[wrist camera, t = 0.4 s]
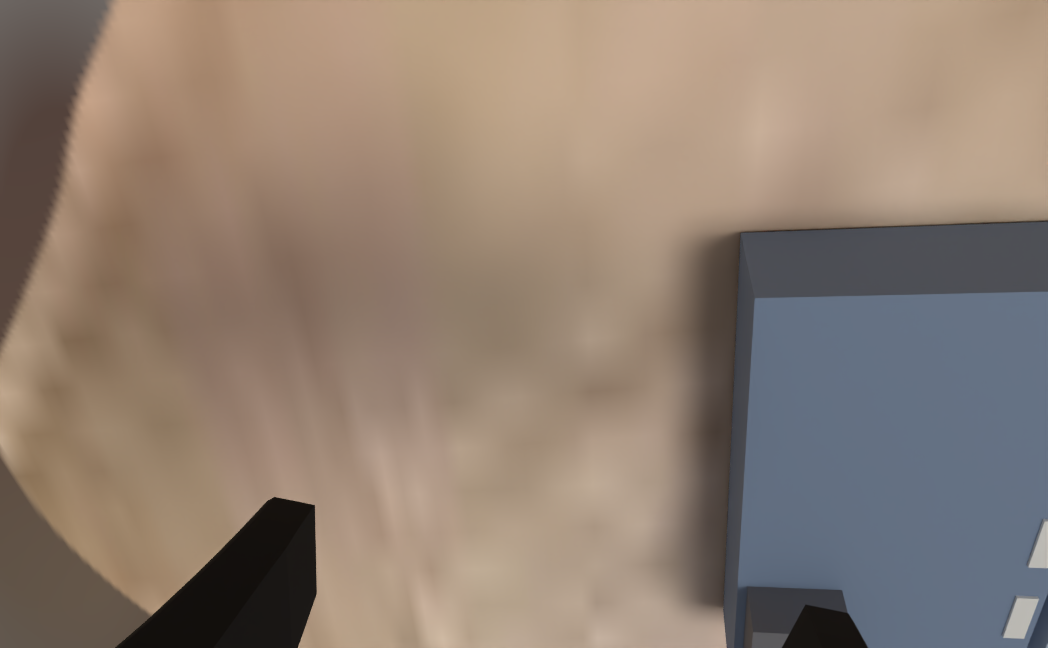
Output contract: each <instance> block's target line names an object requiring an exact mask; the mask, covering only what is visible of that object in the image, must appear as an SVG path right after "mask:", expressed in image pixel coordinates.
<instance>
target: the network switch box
mask: <svg viewBox="0 0 1048 648" xmlns="http://www.w3.org/2000/svg"><path fill="white" fill-rule="evenodd" d="M1047 595H1048V222H1023V223H996V224H969V225H941V226H914V227H887V228H860V229H832V230H805V231H778V232H751V233H741V235H740V257H739V279H738V301H737V323H736V345H735V367H734V389H733V410H732V432H731V454H730V476H729V498H728V520H727V542H726V564H725V585H724V607H723V612H724V622H725V633H726V644H727V648H782V646H783V645H784V643H785V641H786V639H787V637H788V635H789V634H790V632H791V630H792V628H793V626H794V624H795V623H796V621H797V619H798V617H799V615H800V613H801V612H802V610H803V608H804V606H805V604H806V605H811V606H816V607H821V608H826V609H831V610H836V611H841V612H846V613H849V615H850V617H851V618H852V620H853V621H854V623H855V625H856V627H857V628H858V630H859V632H860V634H861V635H862V637H863V639H864V641H865V643H866V644H867V646H868V648H1027V646H1028V643H1029V641H1030V638H1031V636H1032V633H1033V630H1034V628H1035V625H1036V623H1037V620H1038V618H1039V615H1040V612H1041V610H1042V607H1043V605H1044V602H1045V600H1046V597H1047Z"/></svg>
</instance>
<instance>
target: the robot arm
mask: <svg viewBox="0 0 1048 648" xmlns="http://www.w3.org/2000/svg"><path fill="white" fill-rule="evenodd" d="M316 594H317V587H316V541H315V505H311V504H306V503H301V502H296V501H291V500H286V499H281V498H276V497H274V498H272V499H270V500H268V501H267V502H266V503H265V504H264V505H263V506H262V507H261V508H260V510H259V511H258V512H257V513H256V514H255V515H254V516H253V517H252V518H251V519H250V520H249V521H248V522H247V523H246V524H245V525H244V527H243V528H242V529H241V530H240V531H239V532H238V533H237V534H236V535H235V536H234V537H233V538H232V539H231V540H230V541H229V542H228V543H227V544H226V545H225V546H224V547H223V548H222V549H221V550H220V551H219V552H218V553H217V554H216V555H215V556H214V557H213V558H212V559H211V560H210V561H209V562H208V563H207V564H206V565H205V566H204V567H203V568H202V569H201V570H200V571H199V572H198V573H197V574H196V575H195V576H194V577H193V578H192V579H191V580H190V581H188V582H187V583H186V584H185V585H184V586H183V587H182V588H181V589H180V590H179V591H178V592H177V593H176V594H175V595H174V596H173V597H171V598H170V599H169V600H168V601H167V602H166V603H165V604H164V605H163V606H162V607H161V608H160V609H159V610H158V611H157V612H155V613H154V614H153V615H152V616H151V617H150V618H149V619H148V620H147V621H146V622H145V623H143V624H142V625H141V626H140V627H139V628H138V629H136V630H135V631H134V632H133V633H132V634H131V635H129V636H128V637H127V638H126V639H125V640H124V641H122V642H121V643H120V644H119V645H118V646H117V647H115V648H298V645H299V642H300V640H301V637H302V634H303V631H304V629H305V626H306V623H307V620H308V617H309V614H310V611H311V608H312V605H313V602H314V600H315V597H316ZM782 648H868V646H867V644H866V643H865V641H864V639H863V637H862V635H861V634H860V632H859V630H858V628H857V627H856V625H855V623H854V621H853V620H852V618H851V617H850V615H849V613H846V612H841V611H836V610H831V609H826V608H821V607H816V606H811V605H806V604H805V606H804V608H803V610H802V612H801V613H800V615H799V617H798V619H797V621H796V623H795V624H794V626H793V628H792V630H791V632H790V634H789V635H788V637H787V639H786V641H785V643H784V645H783V646H782Z"/></svg>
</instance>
